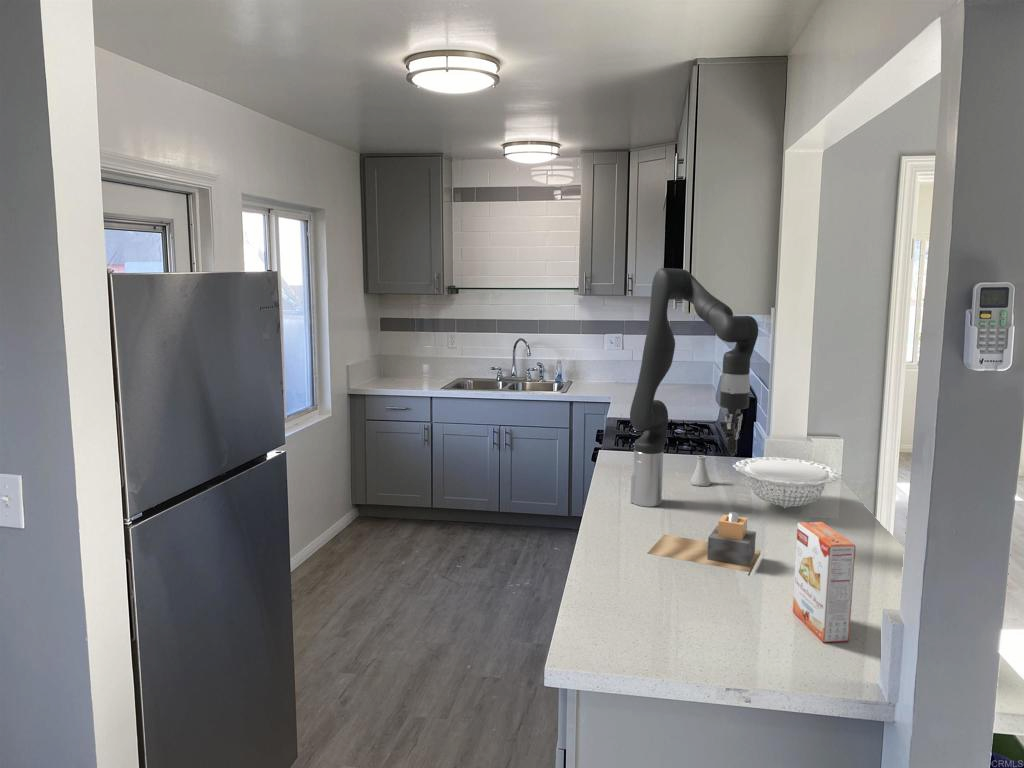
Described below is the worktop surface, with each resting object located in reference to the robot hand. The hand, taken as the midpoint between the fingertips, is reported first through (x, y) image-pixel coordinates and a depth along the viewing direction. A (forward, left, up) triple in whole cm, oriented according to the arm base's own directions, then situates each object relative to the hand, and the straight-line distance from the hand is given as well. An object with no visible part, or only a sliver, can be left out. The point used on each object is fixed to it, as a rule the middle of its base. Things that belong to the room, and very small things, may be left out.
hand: (731, 452), depth 208 cm
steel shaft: (+4, -15, -23) cm, 28 cm away
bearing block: (-3, -15, -25) cm, 29 cm away
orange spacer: (+4, -15, -18) cm, 24 cm away
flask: (-20, +52, -25) cm, 61 cm away
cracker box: (+28, -44, -25) cm, 58 cm away
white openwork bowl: (+10, +37, -25) cm, 46 cm away
